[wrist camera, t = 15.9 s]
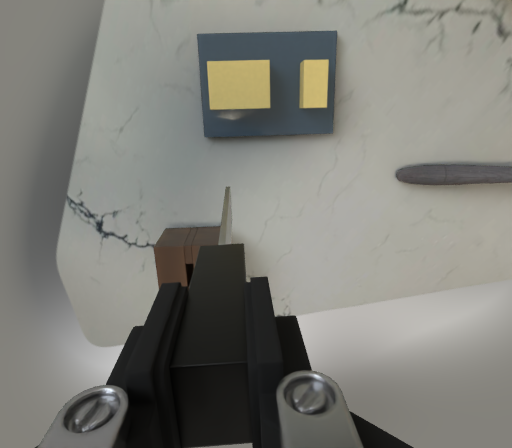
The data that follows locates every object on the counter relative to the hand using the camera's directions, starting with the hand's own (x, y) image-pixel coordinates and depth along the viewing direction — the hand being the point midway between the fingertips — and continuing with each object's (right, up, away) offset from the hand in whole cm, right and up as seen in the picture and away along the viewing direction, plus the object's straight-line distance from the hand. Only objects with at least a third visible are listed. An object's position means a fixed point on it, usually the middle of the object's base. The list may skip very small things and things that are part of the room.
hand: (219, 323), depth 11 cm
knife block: (-6, -1, +32) cm, 32 cm away
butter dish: (+2, +18, +26) cm, 32 cm away
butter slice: (+7, +18, +25) cm, 32 cm away
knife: (-1, +5, +14) cm, 15 cm away
